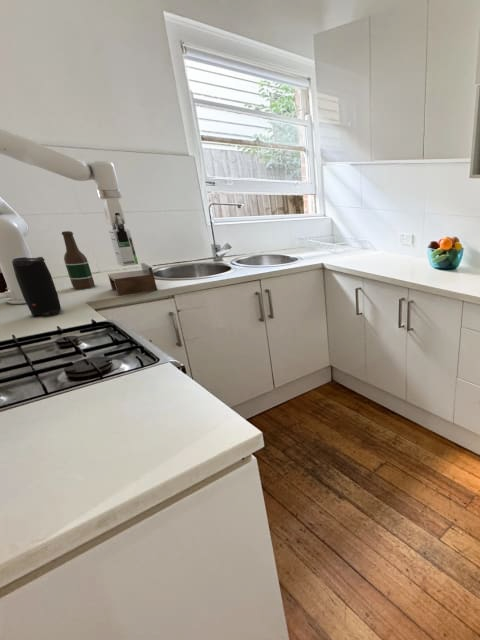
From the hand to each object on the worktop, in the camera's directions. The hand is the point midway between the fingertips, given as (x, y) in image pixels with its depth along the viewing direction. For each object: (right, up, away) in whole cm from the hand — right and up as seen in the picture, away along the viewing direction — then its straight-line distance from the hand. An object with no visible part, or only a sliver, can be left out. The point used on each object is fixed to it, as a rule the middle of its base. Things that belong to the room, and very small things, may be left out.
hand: (121, 240), depth 159 cm
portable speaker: (-8, -33, -24) cm, 41 cm away
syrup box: (0, -9, +4) cm, 10 cm away
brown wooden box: (0, -20, +8) cm, 21 cm away
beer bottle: (-25, -18, +10) cm, 32 cm away
